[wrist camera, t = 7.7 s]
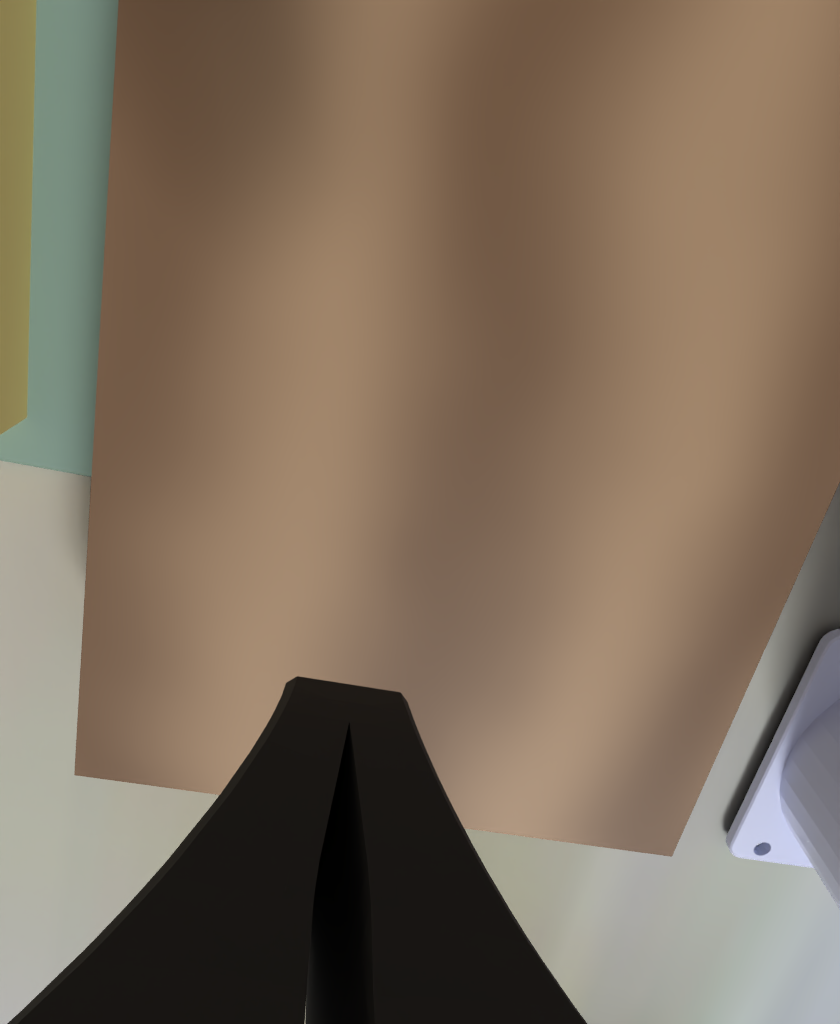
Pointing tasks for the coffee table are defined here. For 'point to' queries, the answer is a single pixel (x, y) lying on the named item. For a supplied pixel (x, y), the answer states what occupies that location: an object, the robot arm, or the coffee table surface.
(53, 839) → the coffee table surface
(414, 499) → the deck
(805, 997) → the coffee table surface
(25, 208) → the yellow rectangular block
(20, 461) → the mat
